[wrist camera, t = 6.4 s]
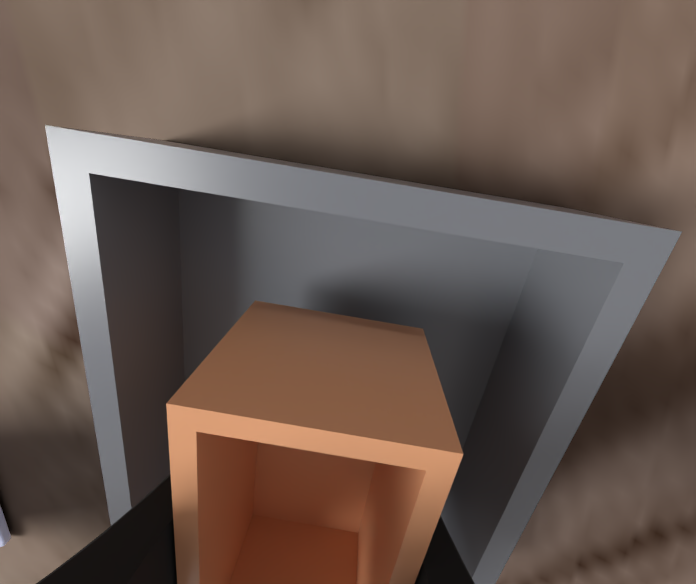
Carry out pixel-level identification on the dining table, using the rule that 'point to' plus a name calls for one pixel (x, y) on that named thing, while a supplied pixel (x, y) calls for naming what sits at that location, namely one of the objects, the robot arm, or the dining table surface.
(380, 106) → the dining table surface
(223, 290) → the big crate
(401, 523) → the small crate
